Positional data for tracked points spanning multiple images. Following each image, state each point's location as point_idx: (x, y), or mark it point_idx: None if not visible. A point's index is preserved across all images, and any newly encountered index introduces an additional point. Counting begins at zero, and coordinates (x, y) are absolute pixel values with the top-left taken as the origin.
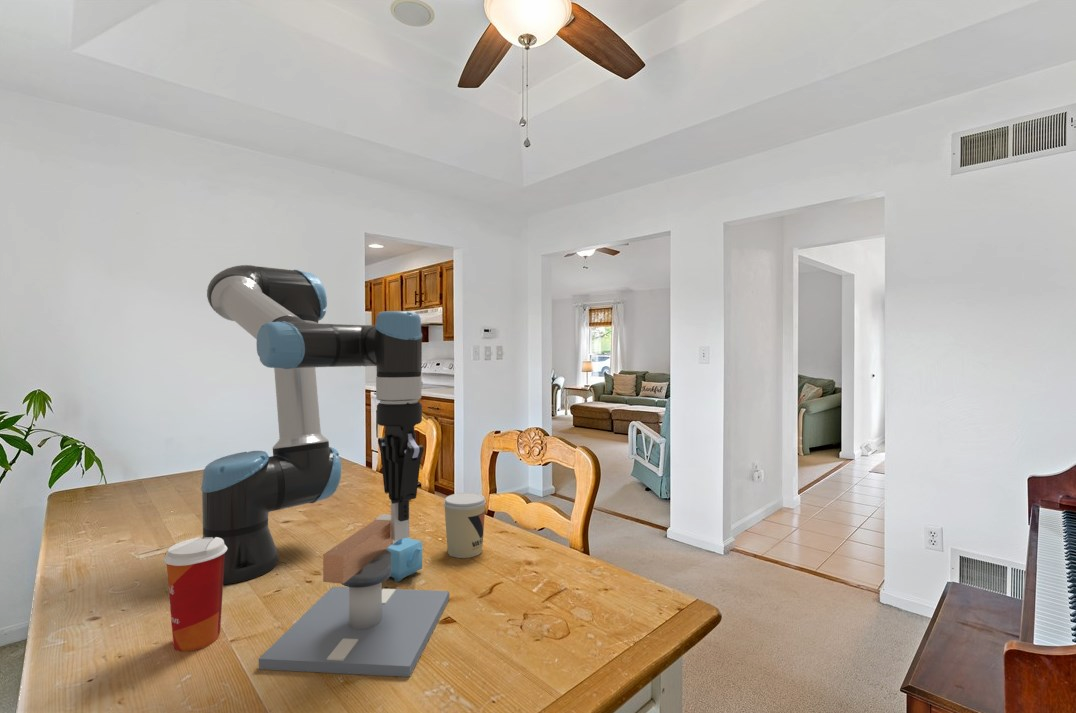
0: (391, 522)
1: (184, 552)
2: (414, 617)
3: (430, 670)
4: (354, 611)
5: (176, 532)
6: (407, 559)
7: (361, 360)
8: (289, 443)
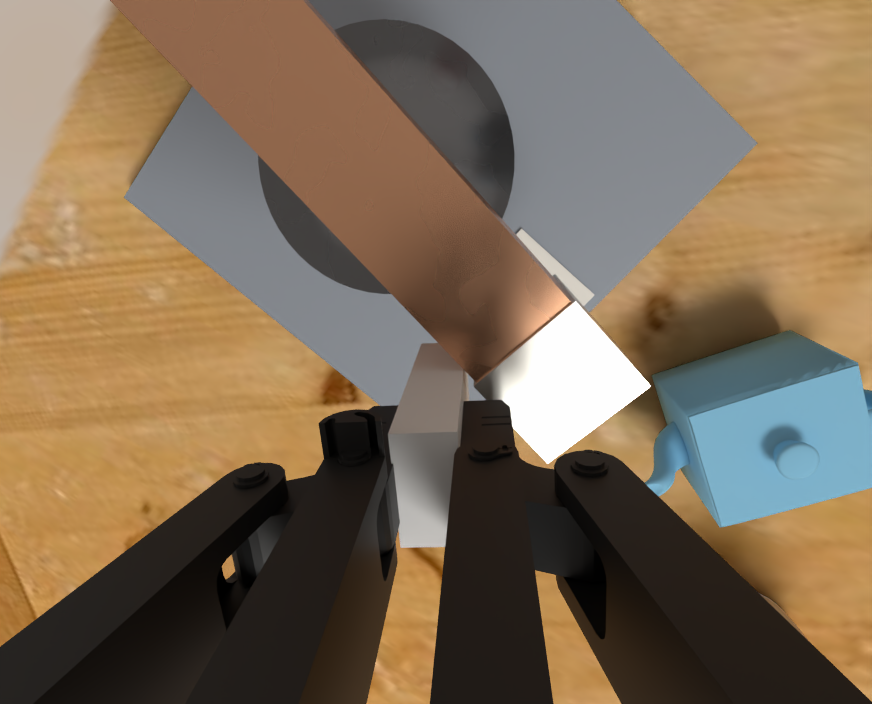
0: (456, 371)
1: None
2: (352, 306)
3: (145, 251)
4: None
5: None
6: (681, 434)
7: None
8: None
